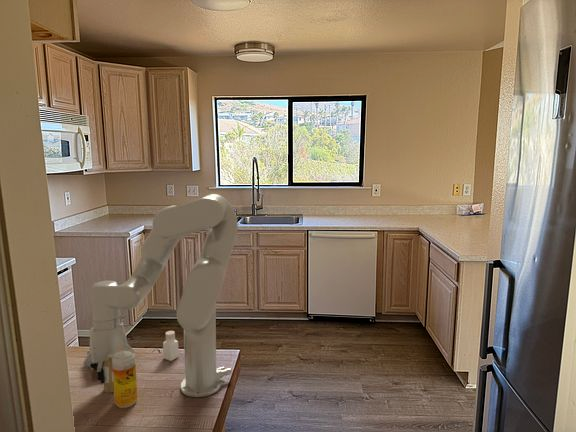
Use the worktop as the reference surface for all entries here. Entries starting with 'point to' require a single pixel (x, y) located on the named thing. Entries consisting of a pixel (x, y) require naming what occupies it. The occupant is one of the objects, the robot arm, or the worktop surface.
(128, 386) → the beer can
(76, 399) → the worktop surface
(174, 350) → the pepper shaker
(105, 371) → the sprinkles bottle
